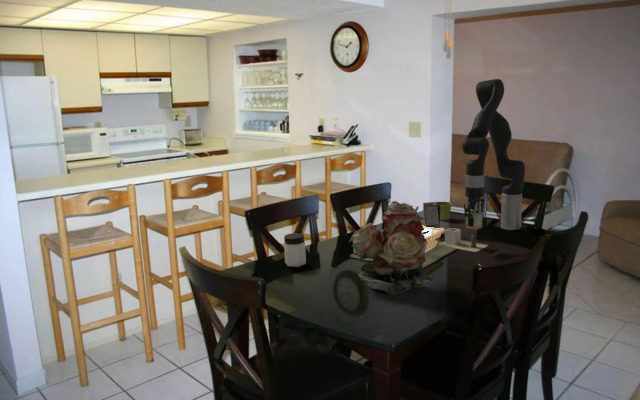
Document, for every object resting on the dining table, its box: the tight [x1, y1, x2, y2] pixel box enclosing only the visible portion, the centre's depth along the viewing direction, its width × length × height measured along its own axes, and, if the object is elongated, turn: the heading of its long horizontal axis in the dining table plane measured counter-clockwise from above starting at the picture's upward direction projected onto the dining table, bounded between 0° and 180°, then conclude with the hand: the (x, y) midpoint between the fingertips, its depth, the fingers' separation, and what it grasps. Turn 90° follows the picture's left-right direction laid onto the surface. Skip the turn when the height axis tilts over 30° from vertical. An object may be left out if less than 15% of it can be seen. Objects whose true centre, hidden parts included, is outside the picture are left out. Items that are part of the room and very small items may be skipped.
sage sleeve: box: [465, 212, 483, 231], centre depth 222 cm, size 5×5×6 cm
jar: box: [283, 232, 307, 268], centre depth 216 cm, size 9×8×12 cm
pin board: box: [437, 234, 489, 253], centre depth 227 cm, size 12×18×6 cm, turn 46°
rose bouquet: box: [351, 199, 431, 296], centre depth 190 cm, size 26×29×30 cm
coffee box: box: [422, 201, 441, 229], centre depth 243 cm, size 9×6×16 cm
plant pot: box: [436, 201, 453, 222], centre depth 275 cm, size 9×9×9 cm
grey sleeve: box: [444, 227, 462, 245], centre depth 231 cm, size 5×5×6 cm
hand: (473, 224), depth 222 cm, fingers closed on sage sleeve, 5 cm apart
